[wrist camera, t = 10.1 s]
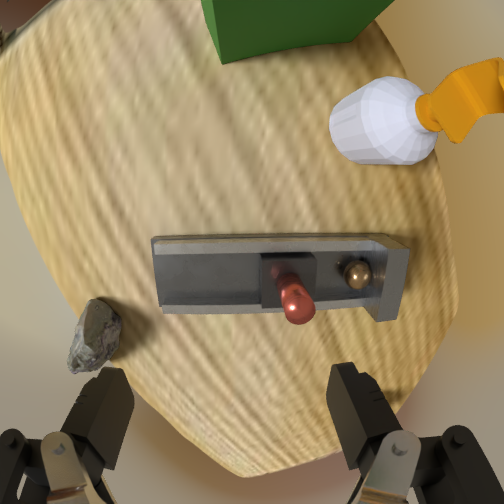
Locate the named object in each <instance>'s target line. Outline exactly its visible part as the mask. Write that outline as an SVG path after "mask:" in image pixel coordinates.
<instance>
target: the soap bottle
mask: <svg viewBox="0 0 504 504" xmlns="http://www.w3.org/2000/svg"><path fill="white" fill-rule="evenodd" d="M494 113H504V61H503V59H502V58H499V57H498V58H492V59H488V60H485V61H481V62H478V63H474V64H471V65H468V66H464V67H461V68H459V69H456V70H455V71H453V72H451V73H450V74H449V75H448V76H447V77H446V78H445V79H444V80H443V81H442V82H441V83H440V84H439V85H438V87H437V88H436V89H435V90H434V91H433V92H432V93H431V94H424V93H423V92H422V90H421V89H420V88H419V87H418V86H416V85H415V84H413V83H411V82H410V81H408V80H406V79H402V78H396V77H390V76H386V77H382V78H378V79H375V80H373V81H372V82H370V83H368V84H367V85H365V86H363V87H361V88H360V89H358V90H356V91H355V92H353V93H352V94H350V95H348V96H347V97H345V98H343V99H342V100H341V101H340V102H339V103H338V104H336V105H335V106H334V108H333V111H332V113H331V115H330V122H329V130H330V134H331V137H332V141H333V143H334V144H335V146H336V147H337V149H338V150H339V152H340V153H341V154H343V155H344V156H345V157H346V158H348V159H349V160H351V161H353V162H356V163H359V164H398V165H413V164H415V163H417V162H419V161H421V160H423V159H424V158H426V157H427V156H428V155H429V153H430V152H431V151H432V150H433V149H434V146H435V143H436V140H437V137H438V132H440V131H441V130H444V131H445V133H446V135H447V136H448V138H449V140H450V141H451V142H453V143H461V142H462V141H463V139H464V138H465V136H466V135H467V134H468V132H469V131H470V129H471V128H472V126H473V125H474V124H475V122H476V121H477V119H478V118H479V117H481V116H483V115H486V114H494Z"/></svg>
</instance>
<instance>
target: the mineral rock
mask: <svg viewBox="0 0 504 504" xmlns="http://www.w3.org/2000/svg"><path fill="white" fill-rule="evenodd" d="M120 330H121V318H120V317H119V316H118V315H116V314H115V313H114V312H113V310H112V309H111V307H110V306H108V305H107V304H106V303H104V302H102V301H100V300H98V299H91V300H89V301H88V303H87V305H86V307H85V309H84V311H83V313H82V315H81V317H80V319H79V322H78V325H77V326H76V328H75V338H74V340H73V343H72V346H71V348H70V354H69V357H68V359H67V365H68V368H69V370H70V371H71V372H72V373H73V374H76V373H78V372H91V371H93V370H94V371H96V370H98V369H99V368H100V367H101V366H102V365H103V364H104V363H105V362H106V361H107V360H109V359H110V358H111V357H112V356H113V354H114V352H115V351H116V350H117V349H118V348H119V334H120Z"/></svg>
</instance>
